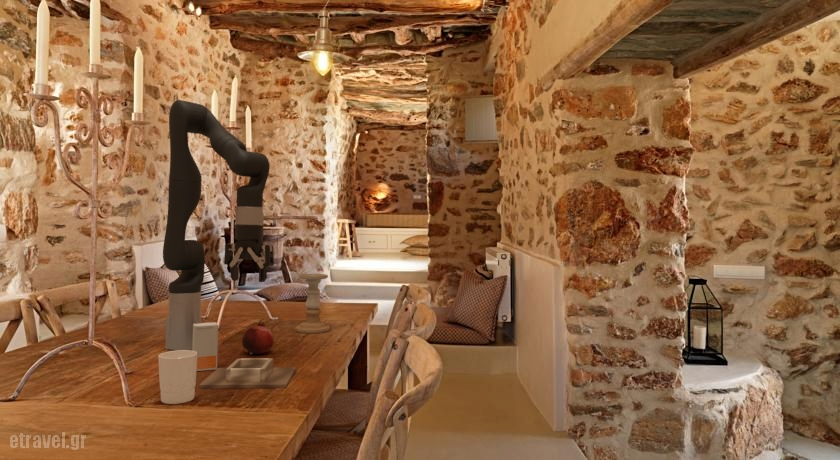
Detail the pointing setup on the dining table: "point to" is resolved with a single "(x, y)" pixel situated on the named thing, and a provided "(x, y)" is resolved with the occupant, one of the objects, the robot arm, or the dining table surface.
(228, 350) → the dining table surface
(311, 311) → the candle holder
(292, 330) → the dining table surface
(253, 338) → the fruit
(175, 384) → the white cup
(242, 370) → the socket board
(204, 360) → the skincare box
